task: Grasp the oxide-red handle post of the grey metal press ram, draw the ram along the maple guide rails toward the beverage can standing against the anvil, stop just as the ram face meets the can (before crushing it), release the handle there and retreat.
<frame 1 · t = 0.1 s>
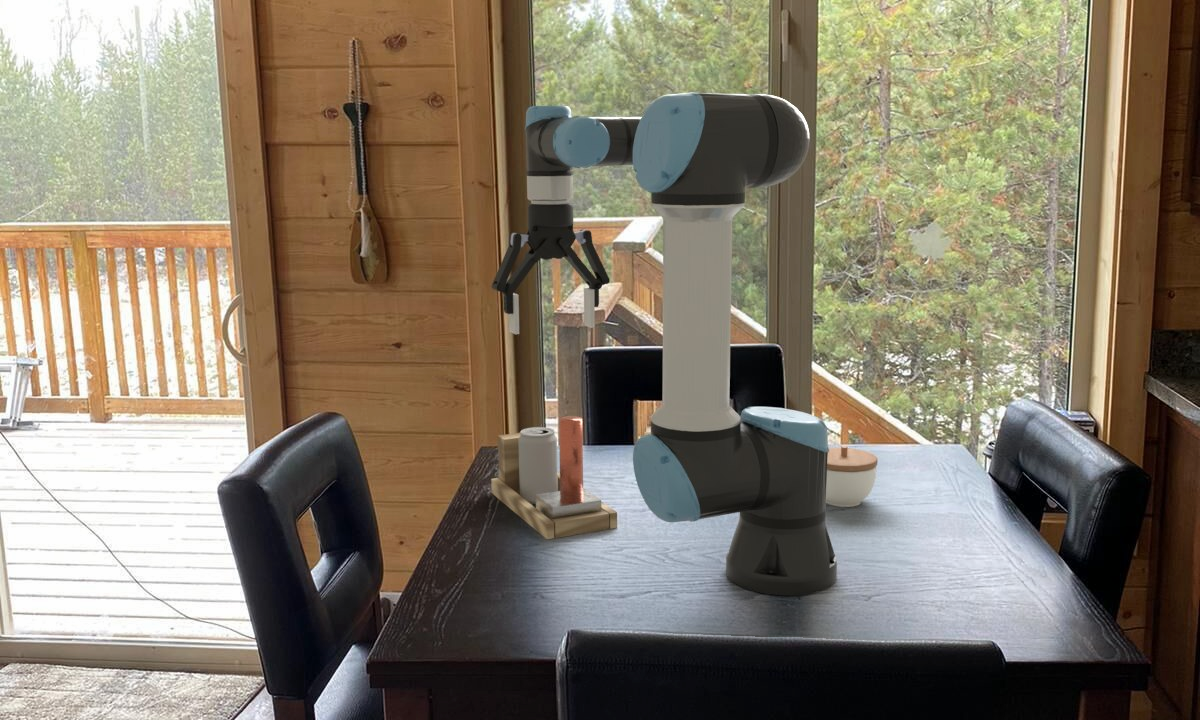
hand: (552, 330, 187), 28 cm above the table, fingers open, 13 cm apart
lidded jar: (842, 502, 185), on the table
beverage can: (538, 501, 187), resting in press frame
press frame: (551, 509, 182), on the table
ram: (567, 469, 174), point 9 cm above the table, slide at 0.0 cm
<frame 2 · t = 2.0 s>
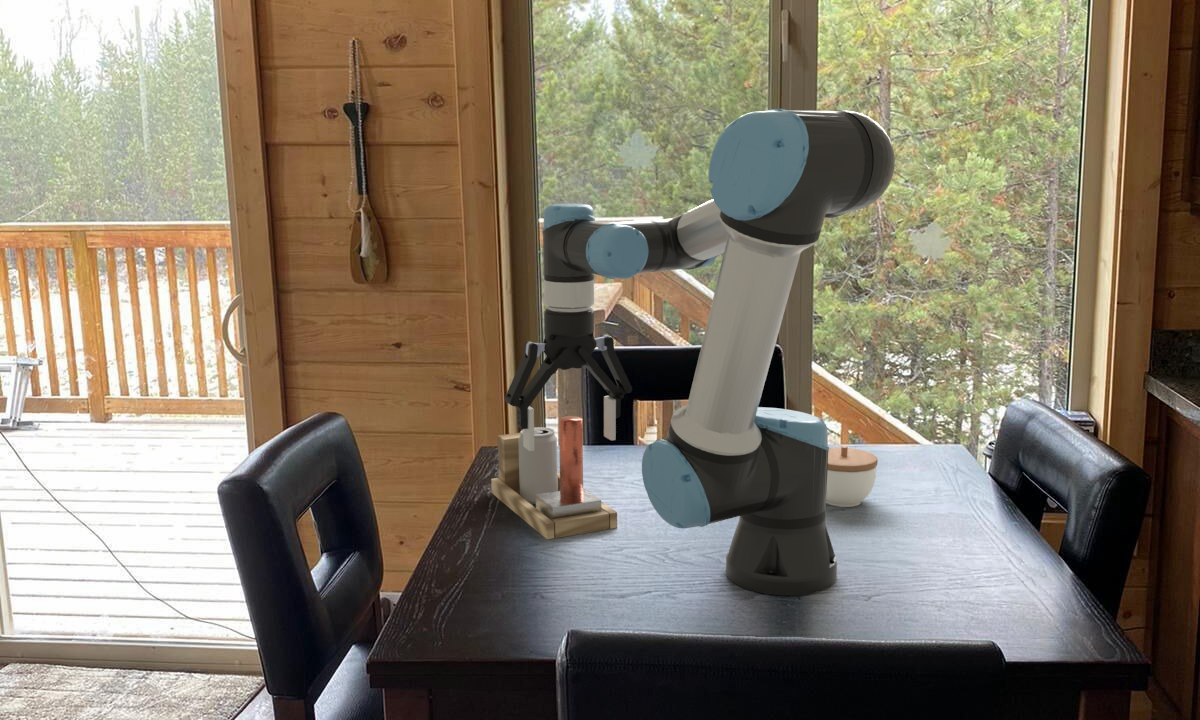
hand: (569, 443, 172), 13 cm above the table, fingers open, 13 cm apart
nothing on the table moved.
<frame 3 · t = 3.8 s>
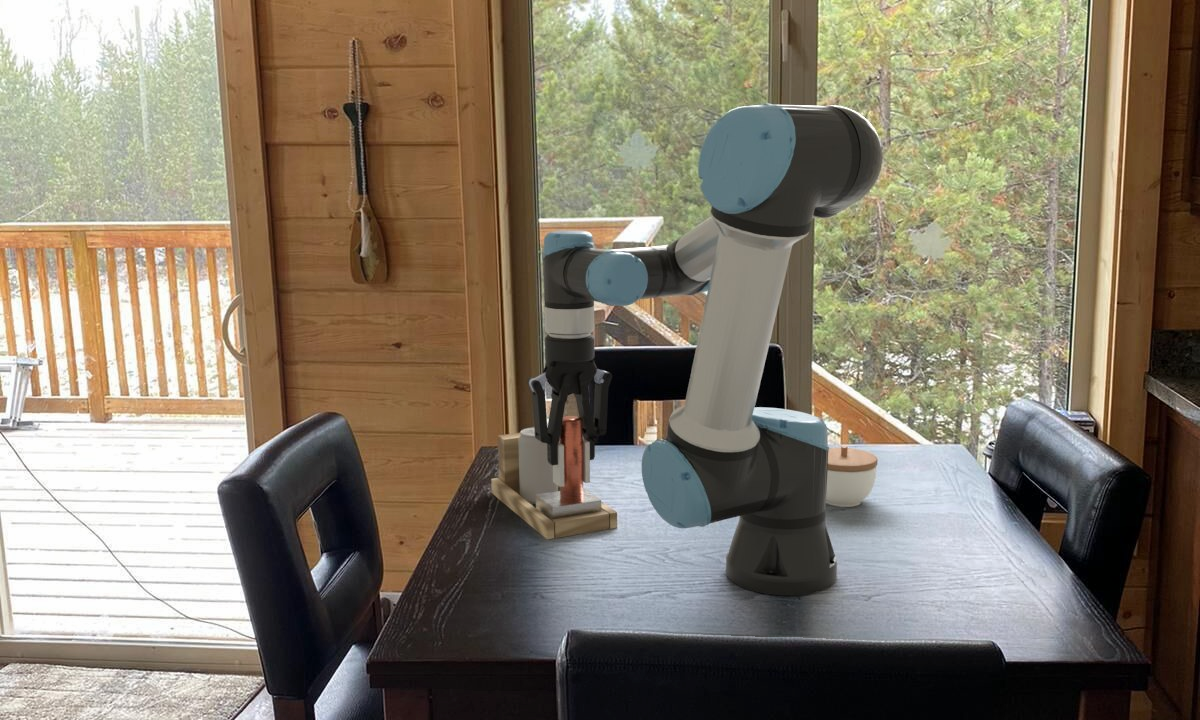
hand: (571, 481, 173), 7 cm above the table, fingers closed on ram, 4 cm apart
ram: (567, 469, 174), point 9 cm above the table, slide at 0.0 cm, touching gripper
everything else where it was.
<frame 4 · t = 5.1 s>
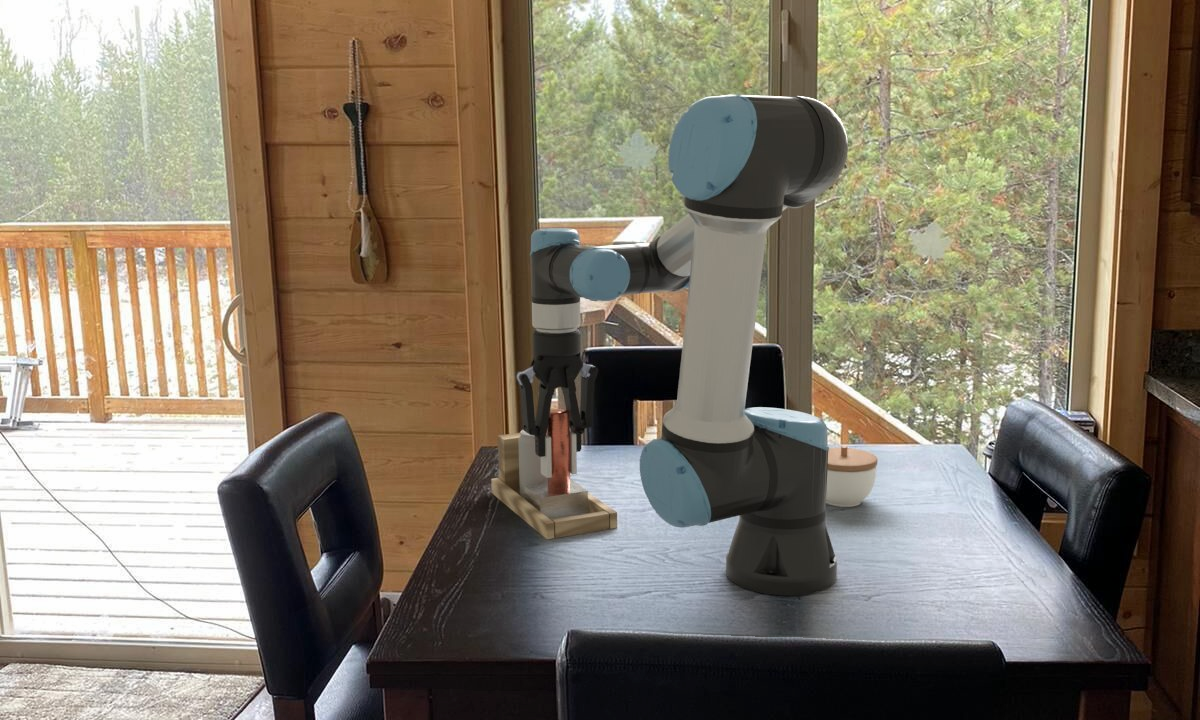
hand: (558, 473, 178), 7 cm above the table, fingers closed on ram, 4 cm apart
ram: (555, 461, 179), point 9 cm above the table, slide at 5.1 cm, touching gripper
everything else where it was.
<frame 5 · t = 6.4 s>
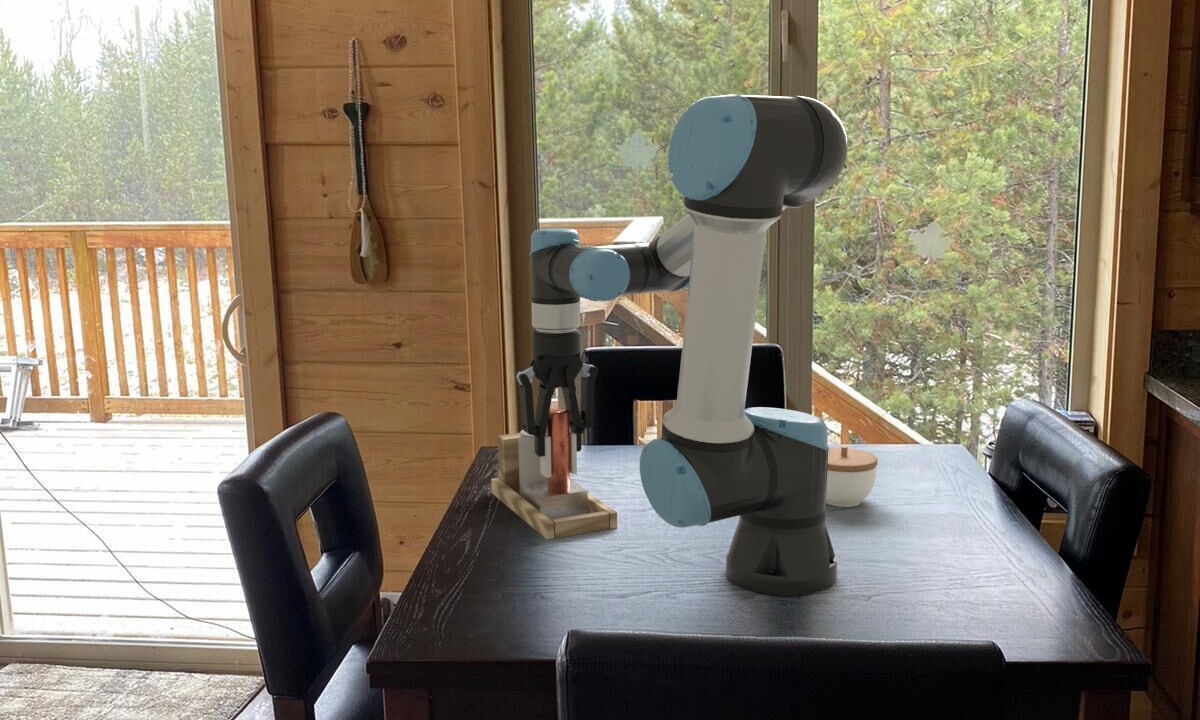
hand: (558, 473, 178), 7 cm above the table, fingers open, 4 cm apart
ram: (555, 461, 179), point 9 cm above the table, slide at 5.2 cm
everything else where it was.
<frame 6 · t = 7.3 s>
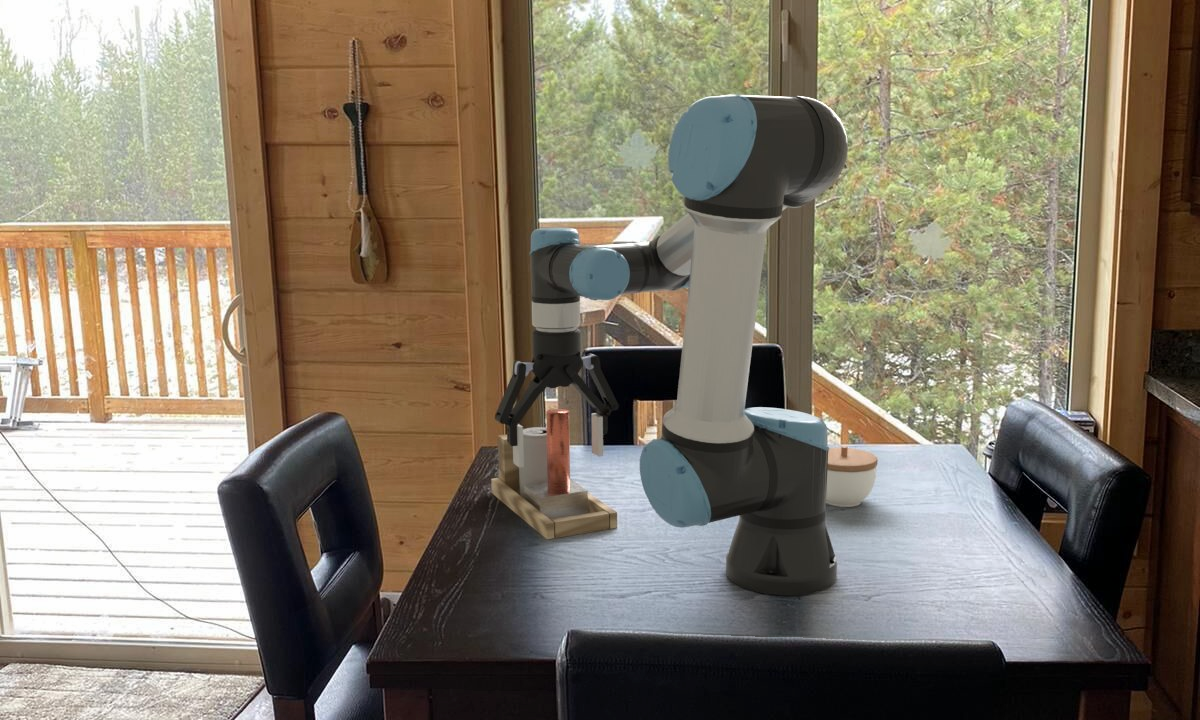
hand: (558, 459, 177), 9 cm above the table, fingers open, 13 cm apart
nothing on the table moved.
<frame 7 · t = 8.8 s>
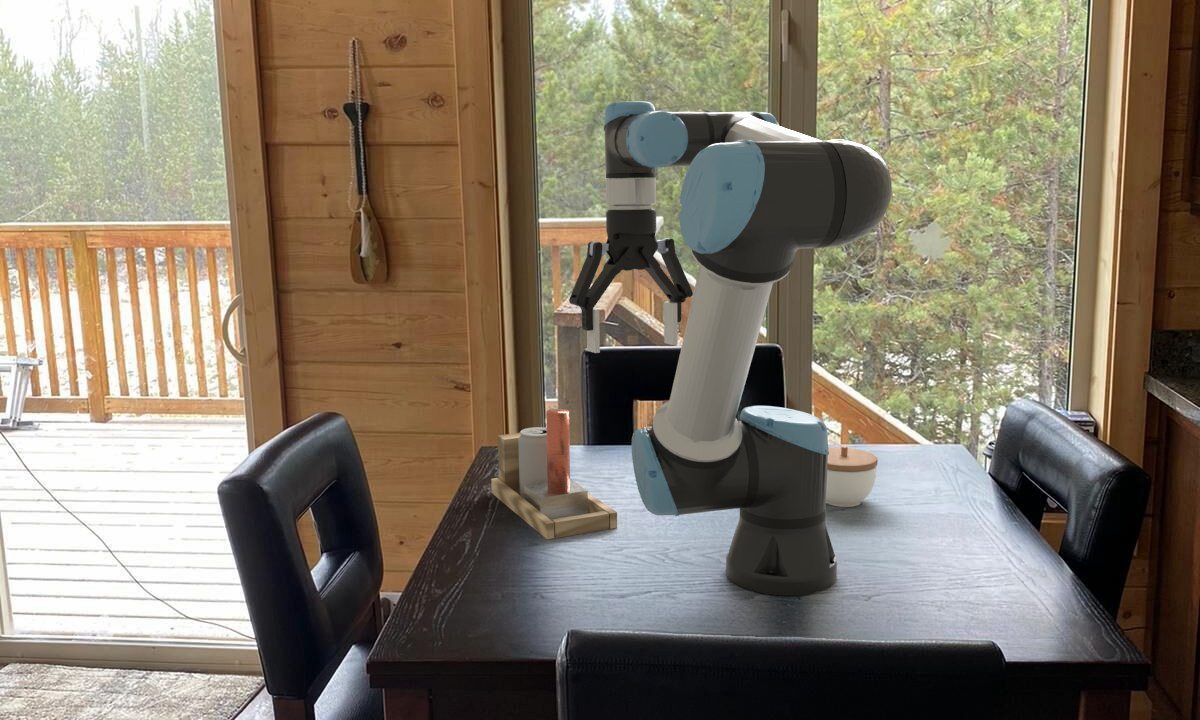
hand: (632, 348, 171), 28 cm above the table, fingers open, 13 cm apart
nothing on the table moved.
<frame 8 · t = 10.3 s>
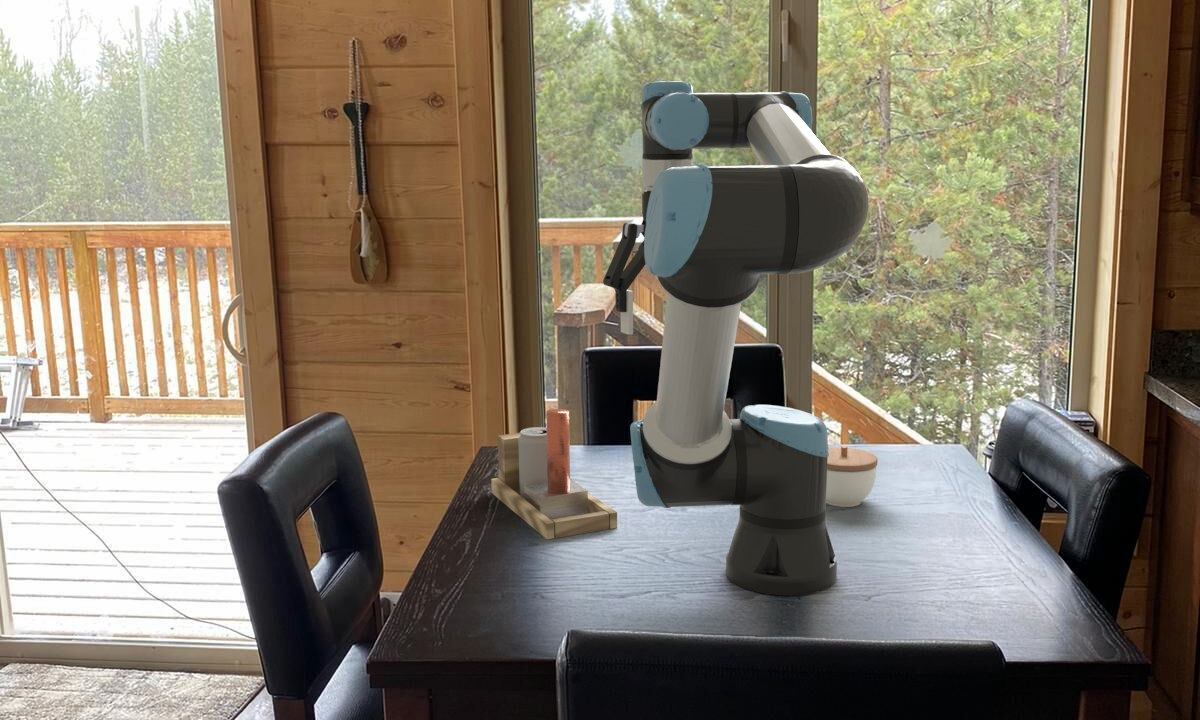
hand: (666, 329, 170), 31 cm above the table, fingers open, 13 cm apart
nothing on the table moved.
at the end: ram slide at 5.2 cm; beverage can moved 0.2 cm from its start; the gripper is holding nothing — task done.
